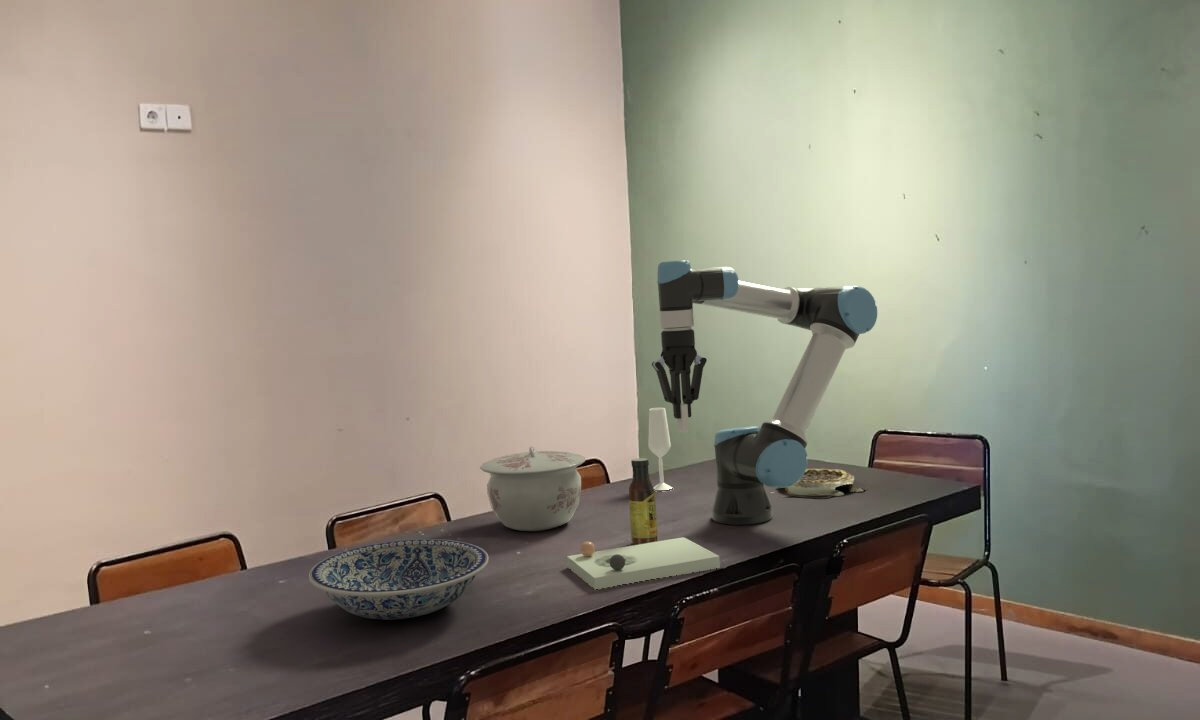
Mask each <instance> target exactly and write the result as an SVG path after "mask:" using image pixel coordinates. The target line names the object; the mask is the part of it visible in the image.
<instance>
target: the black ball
mask: <svg viewBox="0 0 1200 720" xmlns="http://www.w3.org/2000/svg"><path fill="white" fill-rule="evenodd" d="M610 566H611V567H612V568H613V569H614V570H621V569H622V568H623V567H624V566H625V559H624V557H623V556H621V555H619V554H616V555H613V556H612V557H611V559H610Z"/></svg>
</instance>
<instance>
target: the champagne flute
mask: <svg viewBox="0 0 1200 720" xmlns="http://www.w3.org/2000/svg"><path fill="white" fill-rule="evenodd" d="M648 409H649V411H648V439H647V441H648V442H647V443H648V444H647V447H648V449H649V450H650V452H651V453H652V454H653V455H655V456H656V457H657V459H658V473H659V475H658V476H659V483H658V484H656V485H655V486H653V488H654V489H655V490H669V489H672V488H673V487H672V486H671V485H669V484H667V483H665V481H664V479H665V478H664V465H663V462H664V461H663V457H664V456H665V455H666V454H667V453H668V452H669V451H670V449H671V447H672V445H671V444H672V443H671V438H670V430H669V424H668V417H667V411H666V408H665V407H652V408H648Z"/></svg>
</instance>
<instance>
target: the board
mask: <svg viewBox="0 0 1200 720" xmlns="http://www.w3.org/2000/svg"><path fill="white" fill-rule="evenodd" d="M616 554H619V555H621V556H623V557H624V559H625V566H624V567H623V568H622V569H621V570H614V569H613V568H612V567H611V566H610V559H611V557H612V556H613V555H616ZM566 558H567V560H566V561H567V568H568V569H569V570H570V569H571V570H570V571H572V572H573V573H574V574H575V573H576V574H577V576H578V577H579V579H581V578H582V579H581V580H582V581H584V583H586V584H587V583H588V584H587V585H588V586H590V587H591V588H592V587H593V588H594V591H597V590H596V589H598V590H603V589H602V588H604V589H608V588H607V587H610V588H614V587H613V586H615V587H618V586H617V585H621V586H623V585H622V584H627V585H630V584H629V583H632V584H635V583H634V582H638V583H640V582H639V581H643V582H646V581H645V580H649V581H651V580H650V579H655V580H657V579H656V578H660V579H664V578H663V577H666V578H670V577H669V576H672V577H676V575H677V576H681V575H682V574H683V575H687V574H693V573H692V572H694V573H699V571H700V572H703V571H704V572H705V571H710V569H711V570H716V568H717V569H721V558H720V555H718V554H717V553H715V552H712V551H710V550H709V549H707V548H705V547H703V546H701V545H699V544H697V543H695V542H693V541H691V540H690V539H688V538H686V537H683V536H682V537H677V538H672V539H664V540H657V542H651V543H645V544H639V545H635V544H632V545H628V546H623V547H616V548H609V549H603V550H597V551H596V550H595V552H594V553H593V555H591V556H584V555H583V554H582V553H579V554H573V555H567V556H566ZM576 574H575V575H576ZM593 588H592V589H593Z"/></svg>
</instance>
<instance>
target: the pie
mask: <svg viewBox="0 0 1200 720" xmlns="http://www.w3.org/2000/svg"><path fill="white" fill-rule="evenodd" d="M854 481H855V476H854V475H853V474H851V472H850V471H848V472H847V471H846V470H843V469H842V468H841V469H838V468H832V469H829V468H806V471H805V473H804V475H803V476H802V477H801V479H800V480H799V481H798V482H796V483H795V484H793V485H791V486H789V487H784V491H785V492H784V494H785V496H782V495H781V497H785V498H787V497H789V495H791V497H794V496H796V497H798V498H799V497H800V498H810V499H814V496H815V497H817V496H818V497H817V499H829V498H831V497H839V496H845V493H844V492H843V491H839V490H837V489H836V488H838V487H840V486H841V487H842V488H845V489H848V491H849V492H851V493H860V492H861V493H862V492H863V493H864V492H865V491H867V489H868V488H869V487H868V486H867V487H866V488H865V489H864V488H857V487H855V486H854ZM770 493H771V494H773V493H774V491H773V492H770ZM786 495H787V496H786ZM819 496H824V497H819ZM825 496H826V497H825Z"/></svg>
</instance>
